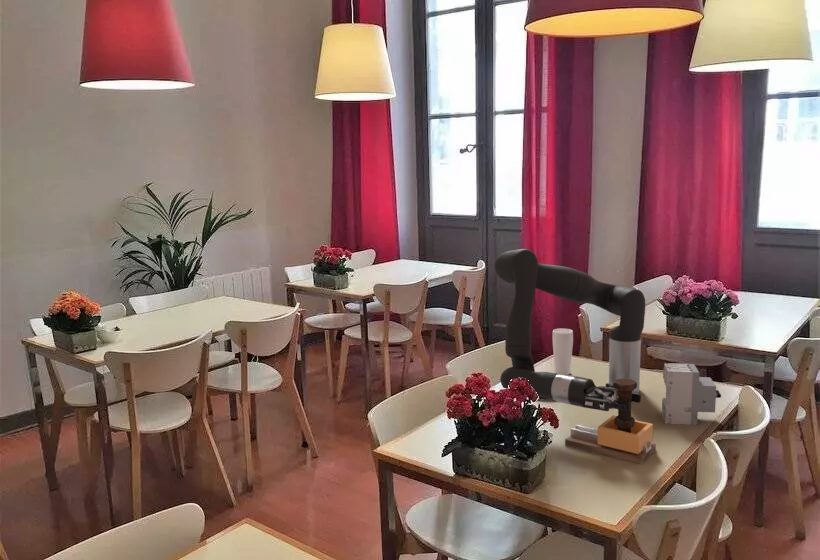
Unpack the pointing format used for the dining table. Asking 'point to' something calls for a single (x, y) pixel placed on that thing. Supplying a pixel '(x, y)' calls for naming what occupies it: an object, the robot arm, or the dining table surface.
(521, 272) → the robot arm
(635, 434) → the orange open box
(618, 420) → the bolt
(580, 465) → the dining table surface
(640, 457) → the rail board
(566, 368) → the drinking glass
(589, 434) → the rail
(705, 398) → the circuit breaker
